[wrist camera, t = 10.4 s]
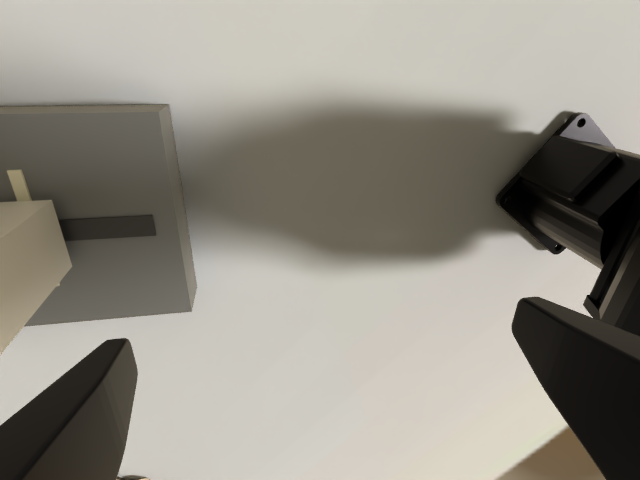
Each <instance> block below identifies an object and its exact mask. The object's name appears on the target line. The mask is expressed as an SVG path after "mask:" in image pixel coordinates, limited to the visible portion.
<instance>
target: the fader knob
mask: <svg viewBox="0 0 640 480" xmlns="http://www.w3.org/2000/svg"><path fill="white" fill-rule="evenodd" d="M71 267H72V264H71V260H70V257H69V254H68V251H67V247H66V244H65V241H64V238H63V234H62V231H61V228H60V225H59V222H58V218H57V215H56V212H55V209H54V205H53V202H52V200H37V201H15V202H0V355H1V354H2V352H3V351H4V350H5V349H6V348H7V346H8V345H9V344H10V343H11V341H12V340H13V339H14V338H15V336H16V335H17V334H18V333H19V331H20V330H21V329H22V328H23V327H24V325H25V324H26V323H27V322H28V320H29V319H30V318H31V317H32V315H33V314H34V313H35V312H36V311H37V309H38V308H39V307H40V306H41V304H42V303H43V302H44V301H45V299H46V298H47V297H48V296H49V295H50V293H51V292H52V291H53V290H54V288H55V287H56V286H57V285H58V283H59V282H60V281H61V280H62V279H63V277H64V276H65V275H66V274H67V272H68V271H69V270H70V269H71Z"/></svg>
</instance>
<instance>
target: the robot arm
mask: <svg viewBox="0 0 640 480" xmlns="http://www.w3.org/2000/svg"><path fill="white" fill-rule="evenodd" d="M579 120H580V123H579V125H577V123H578V121H579ZM506 197H508V199H507V200H506V201H505V202H504V199H505V198H506ZM496 203H497V205H498V206H499V207H500V208H502V209H503V210H504V211H505V212H506V213H507V214H508V215H509V216H510V217H512V218H513V219H514V220H515V221H516V222H517V223H518V224H519V225H520V226H522V227H523V228H524V229H525V230H526V231H527V232H528V233H529V234H530V235H531V236H533V237H534V238H535V239H536V240H537V241H538V242H539V243H540V244H541V245H543V246H544V247H545V248H546V249H547V250H548V251H550V252H551V253H553V254H559V253H561V252H562V251H563V250H564V249H566V248H568V249H569V250H571V251H573V252H574V253H576V254H577V255H579V256H581V257H582V258H584V259H585V260H587V261H589V262H590V263H592V264H594V265H595V266H597V267H598V268H600V269H602V270H601V272H600V274H599V276H598V278H597V280H596V283H595V285H594V287H593V289H592V291H591V293H590V295H587V297H586V299H585V301H584V303H583V305H584V307H585V308H586V309H587V311H588V312H589V313H590V315H591V316H592V317H593V318H591V317H589V316H586V315H584V314H581V313H578V312H576V311H573V310H571V309H568V308H566V307H563V306H560V305H558V304H555V303H553V302H550V301H548V300H545V299H542V298H540V297H528V298H522V299H520V300H519V302H518V304H517V308H516V311H515V315H514V318H513V322H512V333H513V335H514V337H515V339H516V341H517V343H518V344H519V346H520V348H521V350H522V352H523V353H524V355H525V357H526V359H527V360H528V362H529V364H530V366H531V368H532V369H533V371H534V373H535V375H536V376H537V378H538V380H539V382H540V383H541V385H542V387H543V388H544V390H545V392H546V393H547V395H548V396H549V398H550V399H551V401H552V402H553V404H554V405H555V406H556V408H557V409H558V411H559V412H560V414H561V415H562V417H563V418H564V419H565V421H566V422H567V424H568V425H569V427H570V428H571V429H572V431H573V432H574V434H575V435H576V437H577V438H578V440H579V441H580V443H581V444H582V445H583V447H584V448H585V450H586V451H587V453H588V454H589V455H590V457H591V458H592V460H593V461H594V463H595V464H596V466H597V467H598V469H599V470H600V471H601V473H602V474H603V476H604V477H605V479H606V480H640V155H638V154H634V153H631V152H627V151H623V150H620V149H616V148H615V147H614V146H613V145H612V144H611V142H610V141H609V140H608V139H607V137H606V136H605V135H604V134H603V132H602V131H601V130H600V129H599V127H598V126H597V125H596V124H595V122H594V121H593V120H592V119H591V118H590V116H589V115H588V114H585V113H579V112H578V113H575V114H573V115H572V116H571V117H570V118H569V119H568V120H567V121H566V122H565V123H564V124H563V126H562V127H561V128H560V129H559V130H558V131H557V132H556V133H555V134H554V135H553V136H552V137H551V138H550V139H549V141H548V142H547V143H546V144H545V145H544V146H543V147H542V148H541V149H540V150H539V151H538V152H537V153H536V154H535V155H534V157H533V158H532V159H531V160H530V161H529V162H528V163H527V164H526V165H525V166H524V167H523V168H522V169H521V170H520V172H519V173H518V174H517V175H516V176H515V177H514V178H513V179H512V180H511V181H510V182H509V183H508V184H507V185H506V186H505V188H504V189H503V190H502V191H501V192H500V193H499V194H498V195H497V197H496ZM556 245H557V246H556ZM555 246H556V247H555ZM137 375H138V373H137V365H136V362H135V358H134V354H133V350H132V347H131V343H130V341H129V340H128V339H126V338H122V339H112V340H107V341H105V342H104V343H102V344H101V345H100V346H99V347H97V348H96V349H95V350H94V351H92V352H91V353H90V354H89V355H87V356H86V357H85V358H84V359H82V360H81V361H80V362H79V363H77V364H76V365H75V366H74V367H73V368H71V369H70V370H69V371H68V372H66V373H65V374H64V375H63V376H61V377H60V378H59V379H58V380H56V381H55V382H54V383H53V384H51V385H50V386H49V387H48V388H46V389H45V390H44V391H43V392H41V393H40V394H39V395H38V396H37V397H35V398H34V399H33V400H32V401H30V402H29V403H28V404H27V405H25V406H24V407H23V408H22V409H20V410H19V411H18V412H17V413H15V414H14V415H13V416H12V417H10V418H9V419H8V420H7V421H5V422H4V423H3V424H2V425H1V426H0V480H116V479H117V475H118V472H119V469H120V465H121V462H122V458H123V454H124V450H125V446H126V441H127V435H128V430H129V424H130V418H131V412H132V406H133V401H134V395H135V389H136V383H137Z"/></svg>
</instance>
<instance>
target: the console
mask: <svg viewBox="0 0 640 480" xmlns="http://www.w3.org/2000/svg"><path fill="white" fill-rule="evenodd" d="M37 200H52V202H53V205H54V209H55V212H56V215H57V218H58V222H59V225H60V228H61V231H62V234H63V238H64V241H65V244H66V247H67V251H68V254H69V257H70V260H71V264H72V267H71V269H70V270H69V271H68V272H67V274H66V275H65V276H64V277H63V279H62V280H61V281H60V282H59V283H58V285H57V286H56V287H55V288H54V290H53V291H52V292H51V293H50V295H49V296H48V297H47V298H46V299H45V301H44V302H43V303H42V304H41V306H40V307H39V308H38V309H37V311H36V312H35V313H34V314H33V315H32V317H31V318H30V319H29V320H28V322H27V323H26V324H25V325H24V326H35V325H46V324H57V323H68V322H80V321H91V320H102V319H113V318H125V317H136V316H147V315H158V314H169V313H181V312H192V308H193V303H194V298H195V294H196V289H197V284H196V277H195V271H194V264H193V258H192V251H191V245H190V238H189V232H188V225H187V219H186V212H185V206H184V199H183V192H182V186H181V179H180V173H179V166H178V160H177V153H176V147H175V140H174V134H173V127H172V121H171V114H170V108H169V105H88V106H4V107H0V202H15V201H37Z"/></svg>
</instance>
